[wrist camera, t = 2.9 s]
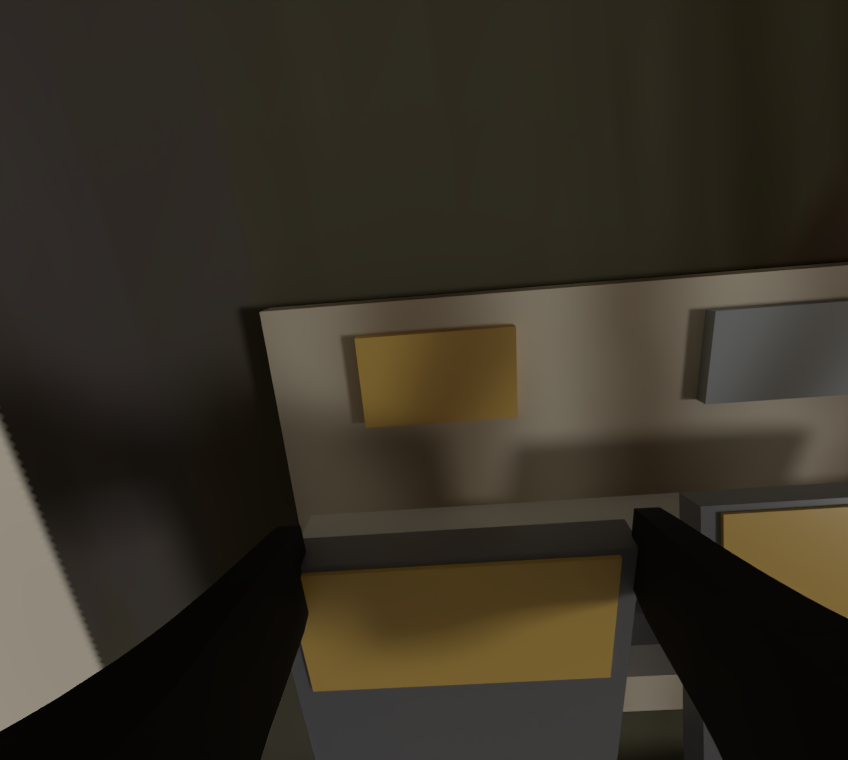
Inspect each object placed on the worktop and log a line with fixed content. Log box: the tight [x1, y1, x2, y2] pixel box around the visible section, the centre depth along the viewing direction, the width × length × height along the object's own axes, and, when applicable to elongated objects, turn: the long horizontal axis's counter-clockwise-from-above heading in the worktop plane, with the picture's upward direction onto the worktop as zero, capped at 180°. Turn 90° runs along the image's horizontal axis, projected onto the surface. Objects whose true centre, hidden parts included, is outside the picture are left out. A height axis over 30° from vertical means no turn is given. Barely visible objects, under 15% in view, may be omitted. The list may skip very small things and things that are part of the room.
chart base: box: [259, 262, 848, 712], centre depth 16 cm, size 23×18×2 cm
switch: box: [291, 519, 638, 760], centre depth 12 cm, size 9×9×1 cm
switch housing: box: [303, 493, 680, 677], centre depth 15 cm, size 22×5×4 cm, turn 95°
